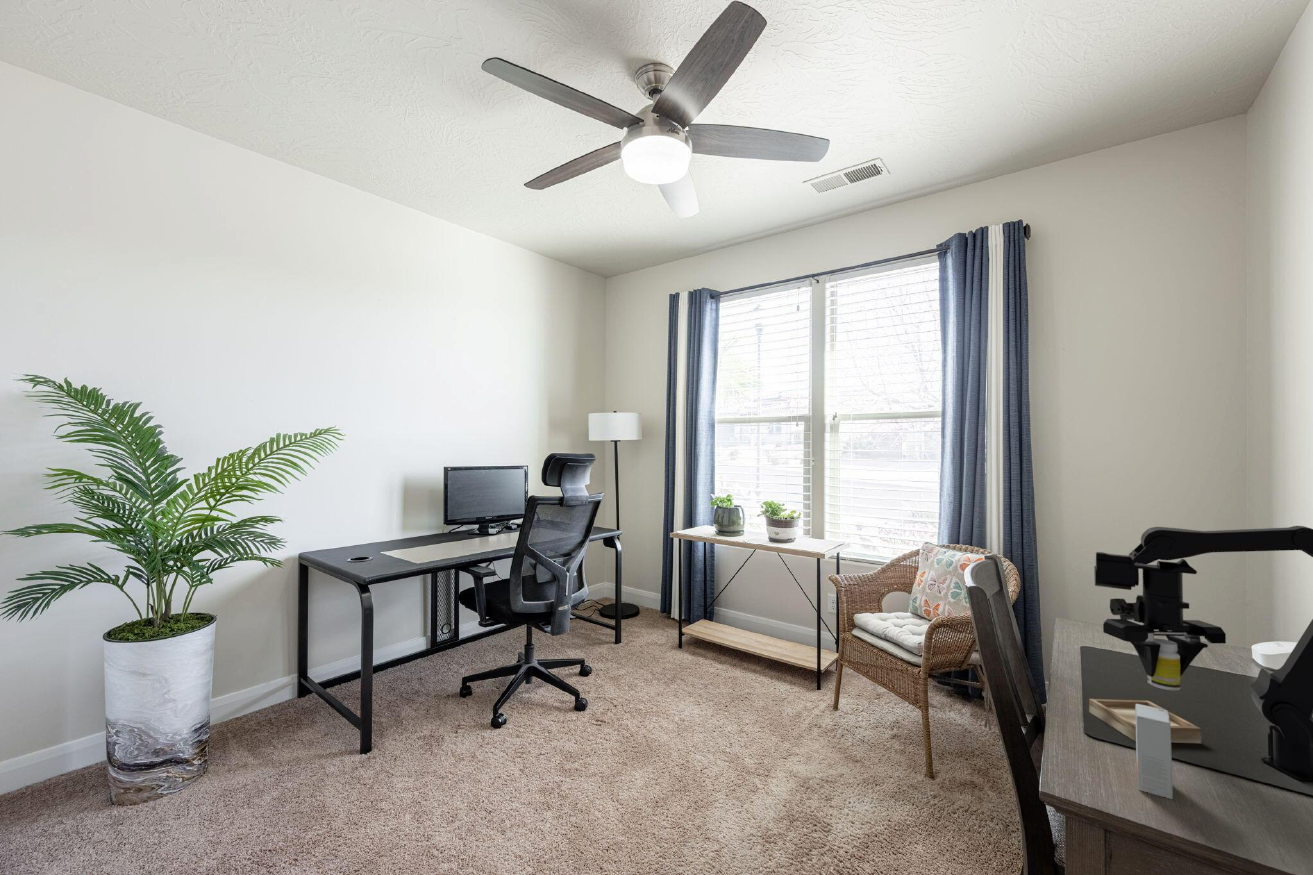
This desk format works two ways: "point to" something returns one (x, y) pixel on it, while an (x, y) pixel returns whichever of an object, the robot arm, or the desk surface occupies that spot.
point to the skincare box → (1153, 751)
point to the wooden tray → (1124, 719)
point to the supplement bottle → (1167, 667)
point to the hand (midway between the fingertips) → (1163, 676)
